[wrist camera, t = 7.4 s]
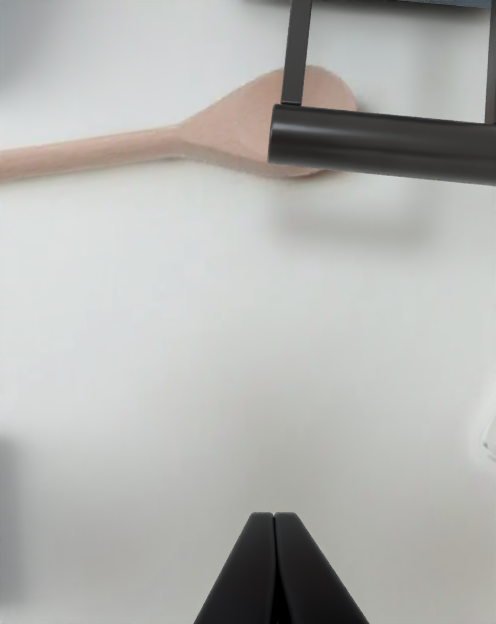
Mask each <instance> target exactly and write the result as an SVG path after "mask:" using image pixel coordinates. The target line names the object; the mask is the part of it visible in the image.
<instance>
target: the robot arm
mask: <svg viewBox="0 0 496 624" xmlns="http://www.w3.org/2000/svg"><path fill="white" fill-rule="evenodd" d="M194 624H369V622H368V621H367V619H366V618H365V616H364V615H363V613H362V612H361V610H360V609H359V607H358V606H357V604H356V603H355V601H354V600H353V598H352V597H351V595H350V594H349V592H348V591H347V589H346V588H345V586H344V585H343V583H342V582H341V580H340V579H339V577H338V576H337V574H336V573H335V571H334V570H333V568H332V567H331V565H330V564H329V562H328V561H327V559H326V558H325V556H324V555H323V553H322V552H321V550H320V549H319V547H318V546H317V544H316V543H315V541H314V540H313V538H312V537H311V535H310V534H309V532H308V531H307V529H306V528H305V526H304V525H303V523H302V522H301V520H300V519H299V517H298V516H297V514H295V513H293V512H277V513H275V515H274V516H273V514H272V513H270V512H254V513H252V514H251V515H250V517H249V519H248V521H247V523H246V525H245V527H244V528H243V530H242V532H241V534H240V536H239V538H238V540H237V542H236V544H235V546H234V548H233V549H232V551H231V553H230V555H229V557H228V559H227V561H226V563H225V565H224V567H223V569H222V570H221V572H220V574H219V576H218V578H217V580H216V582H215V584H214V586H213V588H212V590H211V591H210V593H209V595H208V597H207V599H206V601H205V603H204V605H203V607H202V609H201V610H200V612H199V614H198V616H197V618H196V620H195V622H194Z"/></svg>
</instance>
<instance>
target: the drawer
mask: <svg viewBox="0 0 496 624" xmlns="http://www.w3.org/2000/svg"><path fill="white" fill-rule="evenodd" d="M400 1H411V2H423V3H434V4H445V5H456V6H468V7H479V8H490V9H491V16H490V34H489V51H488V69H487V87H486V105H485V123H474V122H463V121H453V120H442V119H432V118H421V117H411V116H400V115H390V114H379V113H369V112H358V111H348V110H337V109H327V108H316V107H306V106H301V105H302V96H303V86H304V76H305V66H306V56H307V47H308V37H309V27H310V17H311V7H312V0H291V10H290V19H289V28H288V38H287V47H286V57H285V66H284V75H283V85H282V94H281V103H280V104H274V105H273V110H272V118H271V128H270V137H269V148H268V160H267V161H268V163H269V164H276V165H286V166H296V167H306V168H316V169H326V170H337V171H347V172H357V173H367V174H377V175H387V176H398V177H408V178H418V179H428V180H438V181H448V182H458V183H469V184H479V185H489V186H496V0H400Z"/></svg>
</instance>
